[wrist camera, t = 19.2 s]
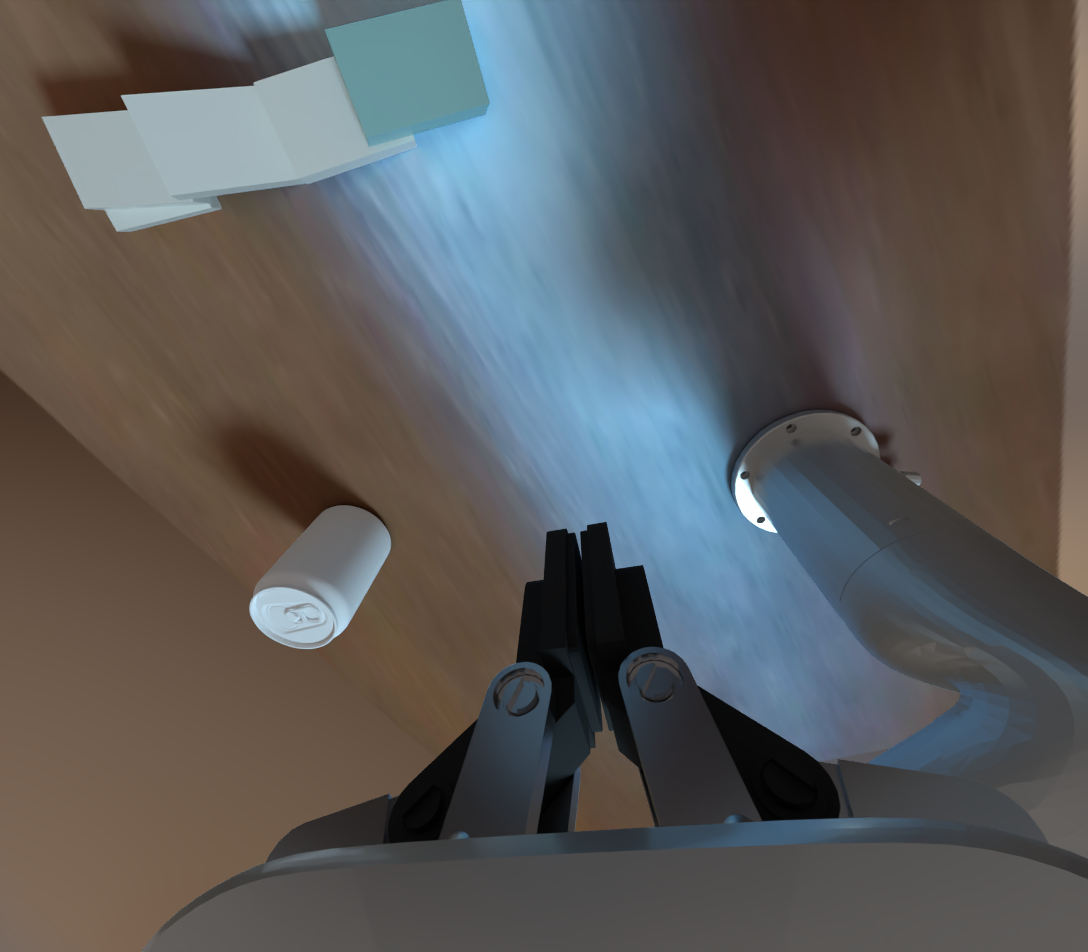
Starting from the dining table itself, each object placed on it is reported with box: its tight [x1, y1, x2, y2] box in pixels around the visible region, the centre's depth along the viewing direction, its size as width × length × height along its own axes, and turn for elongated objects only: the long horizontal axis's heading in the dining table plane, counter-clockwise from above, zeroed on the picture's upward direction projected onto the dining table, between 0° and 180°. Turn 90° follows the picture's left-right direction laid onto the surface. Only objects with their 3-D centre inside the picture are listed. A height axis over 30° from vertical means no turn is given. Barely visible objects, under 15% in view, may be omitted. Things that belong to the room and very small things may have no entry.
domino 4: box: [253, 56, 417, 184], centre depth 28 cm, size 2×5×8 cm
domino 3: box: [105, 196, 222, 232], centre depth 31 cm, size 2×5×8 cm
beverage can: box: [249, 505, 391, 649], centre depth 41 cm, size 8×8×12 cm
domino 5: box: [324, 0, 489, 147], centre depth 26 cm, size 2×5×8 cm
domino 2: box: [42, 110, 213, 211], centre depth 29 cm, size 2×5×8 cm
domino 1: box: [121, 86, 305, 200], centre depth 28 cm, size 2×5×8 cm
